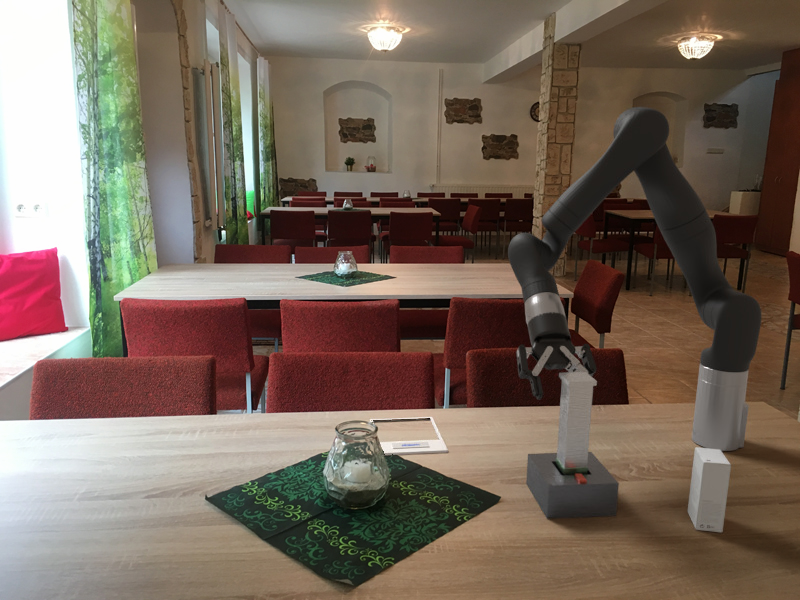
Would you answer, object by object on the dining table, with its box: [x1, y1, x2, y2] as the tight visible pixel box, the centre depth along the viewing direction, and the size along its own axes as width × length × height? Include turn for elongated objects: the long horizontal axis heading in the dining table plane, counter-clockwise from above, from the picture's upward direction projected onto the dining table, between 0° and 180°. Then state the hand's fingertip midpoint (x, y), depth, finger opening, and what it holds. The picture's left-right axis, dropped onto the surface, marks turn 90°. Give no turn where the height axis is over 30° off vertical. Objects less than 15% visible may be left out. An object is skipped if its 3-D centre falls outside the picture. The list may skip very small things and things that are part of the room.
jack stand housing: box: [525, 451, 620, 520], centre depth 112 cm, size 12×12×6 cm
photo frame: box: [369, 416, 449, 456], centre depth 139 cm, size 15×1×18 cm
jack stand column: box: [556, 371, 598, 475], centre depth 110 cm, size 5×5×17 cm
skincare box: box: [687, 446, 732, 533], centre depth 105 cm, size 6×4×12 cm
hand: (563, 397), depth 116 cm, fingers open, 8 cm apart
